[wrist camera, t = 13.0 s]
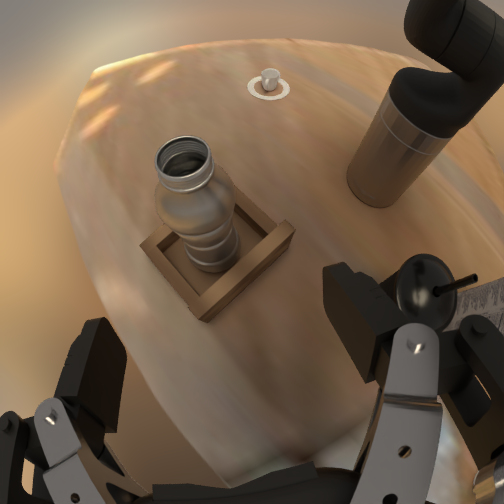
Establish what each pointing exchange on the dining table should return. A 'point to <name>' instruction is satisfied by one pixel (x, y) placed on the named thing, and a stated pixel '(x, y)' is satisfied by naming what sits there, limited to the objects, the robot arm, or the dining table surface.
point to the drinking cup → (426, 291)
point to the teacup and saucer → (269, 84)
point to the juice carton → (481, 304)
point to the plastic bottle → (197, 202)
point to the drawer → (232, 279)
